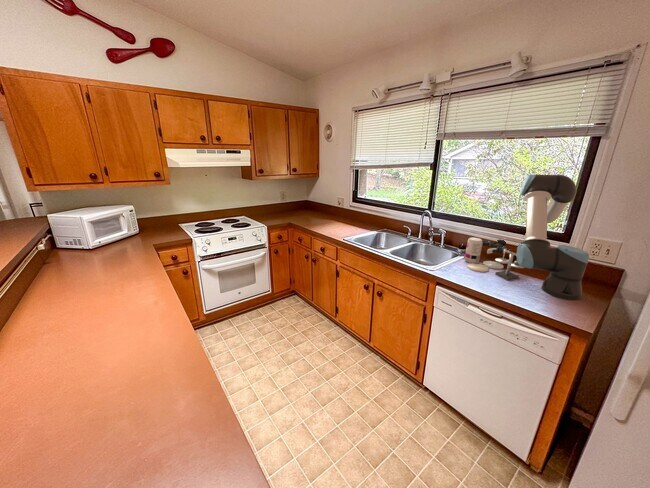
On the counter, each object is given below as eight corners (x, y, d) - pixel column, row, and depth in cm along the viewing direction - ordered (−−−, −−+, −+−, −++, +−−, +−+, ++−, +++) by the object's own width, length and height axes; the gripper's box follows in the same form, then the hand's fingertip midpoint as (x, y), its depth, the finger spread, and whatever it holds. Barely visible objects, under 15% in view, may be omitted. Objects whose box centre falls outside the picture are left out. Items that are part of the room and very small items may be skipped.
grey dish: (507, 268, 161) (508, 266, 161) (493, 270, 158) (494, 269, 158) (491, 261, 171) (492, 260, 171) (478, 263, 168) (478, 262, 168)
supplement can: (462, 261, 171) (466, 239, 167) (466, 258, 177) (470, 236, 172) (476, 264, 166) (480, 242, 161) (480, 261, 172) (484, 238, 167)
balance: (525, 277, 149) (533, 248, 144) (500, 282, 144) (507, 252, 138) (512, 271, 157) (518, 244, 151) (487, 276, 151) (493, 247, 146)
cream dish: (492, 270, 158) (493, 269, 157) (478, 273, 154) (478, 271, 154) (477, 263, 168) (477, 262, 167) (463, 266, 164) (463, 264, 164)
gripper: (520, 256, 167) (494, 260, 161) (486, 244, 190) (462, 247, 183) (523, 245, 165) (497, 248, 158) (488, 234, 187) (464, 236, 181)
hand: (478, 248), depth 171 cm, fingers open, 13 cm apart
